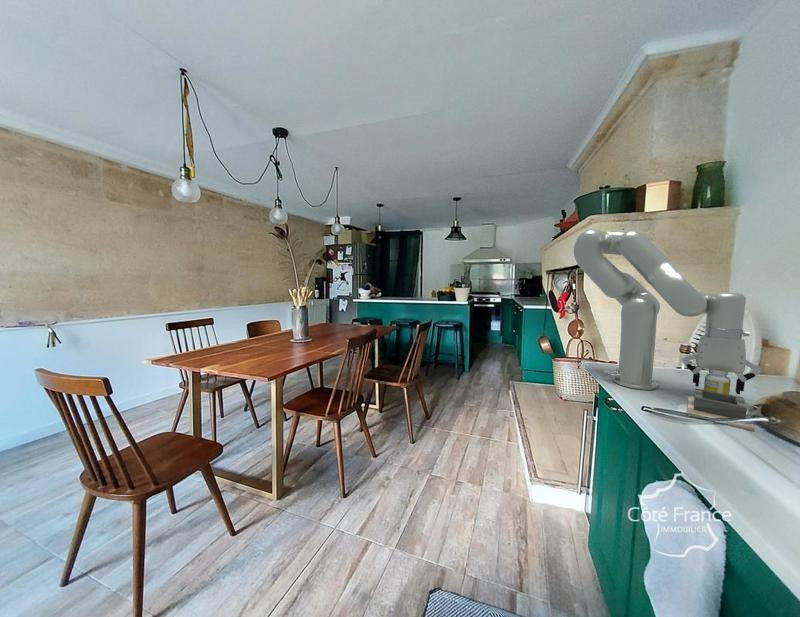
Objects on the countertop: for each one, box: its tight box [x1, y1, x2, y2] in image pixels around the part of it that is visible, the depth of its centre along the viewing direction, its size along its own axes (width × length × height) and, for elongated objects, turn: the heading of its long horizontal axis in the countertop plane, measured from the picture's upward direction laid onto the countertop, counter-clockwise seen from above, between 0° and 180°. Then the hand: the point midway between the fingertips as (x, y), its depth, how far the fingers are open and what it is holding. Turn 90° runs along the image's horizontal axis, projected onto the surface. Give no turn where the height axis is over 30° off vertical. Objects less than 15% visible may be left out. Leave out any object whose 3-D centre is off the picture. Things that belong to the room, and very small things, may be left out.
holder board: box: [686, 387, 755, 432], centre depth 83 cm, size 16×12×4 cm
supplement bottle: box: [703, 369, 731, 395], centre depth 91 cm, size 5×5×10 cm
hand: (716, 388), depth 91 cm, fingers open, 8 cm apart
